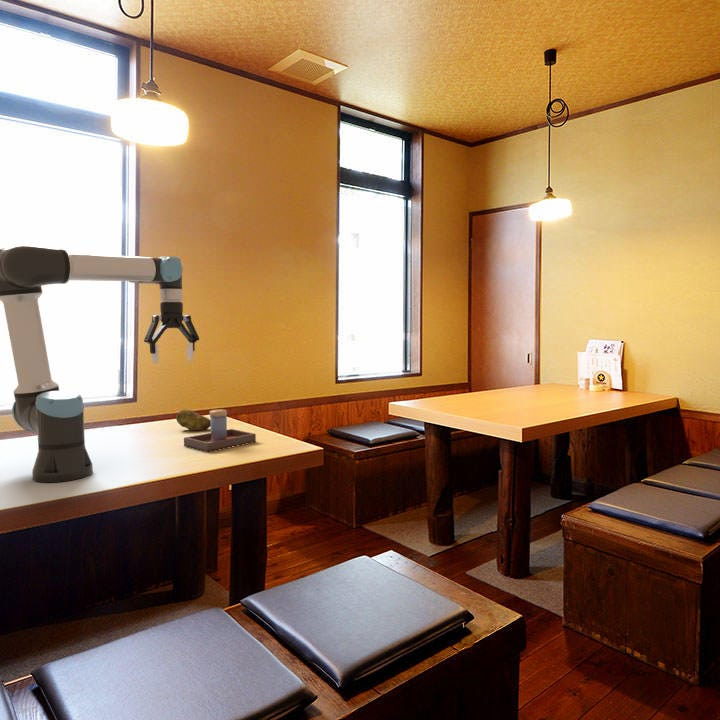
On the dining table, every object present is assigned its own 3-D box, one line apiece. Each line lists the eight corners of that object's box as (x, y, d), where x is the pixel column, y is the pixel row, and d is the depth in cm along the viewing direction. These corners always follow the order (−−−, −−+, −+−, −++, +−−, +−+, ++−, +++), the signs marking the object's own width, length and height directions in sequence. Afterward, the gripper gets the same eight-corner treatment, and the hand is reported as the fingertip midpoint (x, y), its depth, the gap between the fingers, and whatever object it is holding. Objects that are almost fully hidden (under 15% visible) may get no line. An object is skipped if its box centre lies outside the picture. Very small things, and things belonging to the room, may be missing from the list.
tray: (207, 452, 187) (207, 443, 187) (184, 446, 197) (183, 437, 196) (255, 442, 202) (255, 433, 202) (231, 436, 212) (231, 428, 211)
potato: (202, 432, 219) (201, 412, 219) (173, 431, 223) (172, 411, 222) (213, 428, 227) (212, 409, 227) (185, 427, 231) (184, 407, 230)
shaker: (217, 444, 195) (216, 413, 194) (207, 442, 199) (206, 411, 198) (231, 441, 200) (230, 410, 198) (220, 439, 203) (219, 408, 202)
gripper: (196, 302, 212) (197, 359, 213) (132, 301, 193) (134, 363, 194) (208, 301, 207) (209, 360, 208) (143, 300, 188) (145, 364, 190)
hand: (173, 361), depth 201 cm, fingers open, 13 cm apart
